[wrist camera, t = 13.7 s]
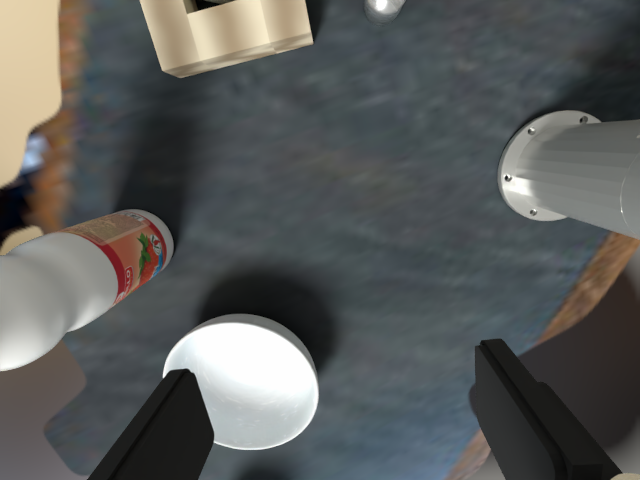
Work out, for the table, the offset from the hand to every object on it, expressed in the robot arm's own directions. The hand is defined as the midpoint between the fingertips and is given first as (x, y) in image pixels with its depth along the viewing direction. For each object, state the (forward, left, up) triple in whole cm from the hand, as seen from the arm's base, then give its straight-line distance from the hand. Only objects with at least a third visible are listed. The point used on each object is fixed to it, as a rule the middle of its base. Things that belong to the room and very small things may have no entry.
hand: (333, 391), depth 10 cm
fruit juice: (+27, -1, -32) cm, 42 cm away
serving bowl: (+17, +20, -32) cm, 41 cm away
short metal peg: (-9, -21, -32) cm, 39 cm away
